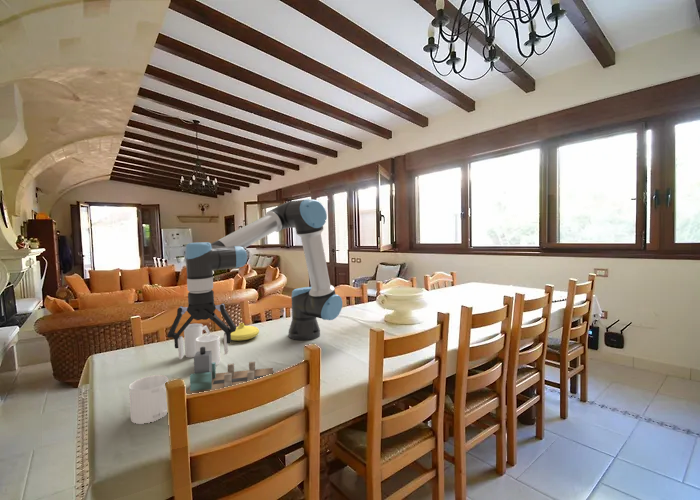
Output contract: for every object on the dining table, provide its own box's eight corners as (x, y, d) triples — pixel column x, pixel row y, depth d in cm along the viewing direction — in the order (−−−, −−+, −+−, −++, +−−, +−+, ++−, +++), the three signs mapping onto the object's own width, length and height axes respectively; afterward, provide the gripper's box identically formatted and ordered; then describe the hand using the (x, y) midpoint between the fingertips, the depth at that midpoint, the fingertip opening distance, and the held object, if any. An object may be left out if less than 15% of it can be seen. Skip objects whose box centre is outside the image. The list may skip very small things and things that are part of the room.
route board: (273, 370, 118) (272, 354, 118) (273, 388, 105) (272, 370, 104) (195, 378, 112) (194, 361, 112) (184, 398, 99) (184, 379, 98)
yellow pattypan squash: (257, 331, 164) (257, 317, 163) (261, 341, 149) (260, 326, 149) (224, 335, 158) (223, 320, 158) (224, 345, 144) (223, 330, 143)
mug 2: (189, 359, 128) (187, 329, 128) (181, 355, 133) (180, 326, 132) (213, 352, 136) (212, 323, 135) (206, 348, 140) (205, 320, 140)
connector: (212, 379, 109) (211, 344, 108) (209, 385, 105) (208, 349, 104) (197, 381, 108) (196, 345, 107) (194, 387, 103) (193, 350, 103)
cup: (204, 370, 118) (203, 343, 117) (187, 362, 125) (186, 336, 125) (224, 363, 125) (223, 337, 124) (207, 356, 132) (206, 331, 131)
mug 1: (123, 418, 88) (122, 385, 88) (157, 403, 96) (156, 372, 96) (149, 432, 82) (147, 396, 82) (182, 414, 90) (181, 381, 90)
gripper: (242, 286, 111) (245, 346, 112) (161, 290, 105) (165, 354, 107) (240, 290, 103) (243, 355, 105) (153, 295, 98) (157, 364, 99)
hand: (204, 355), depth 106 cm, fingers open, 13 cm apart
